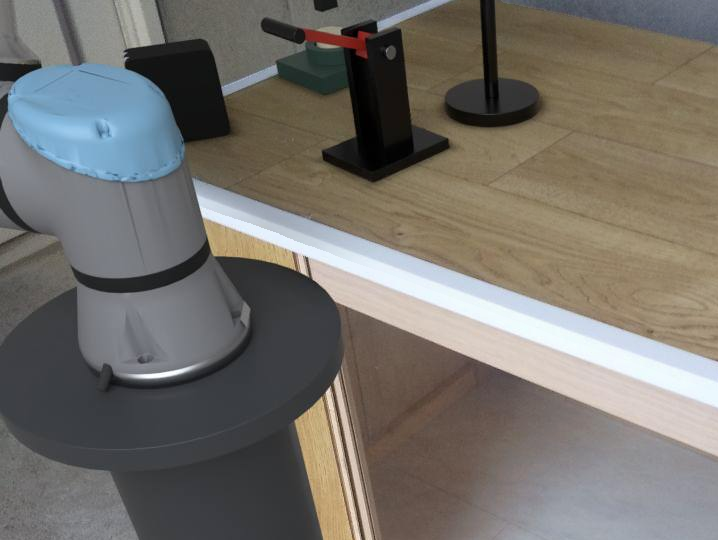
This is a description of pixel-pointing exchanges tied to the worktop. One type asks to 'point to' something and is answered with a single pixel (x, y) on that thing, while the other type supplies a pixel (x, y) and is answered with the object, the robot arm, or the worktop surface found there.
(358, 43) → the switch lever
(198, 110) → the electronic device
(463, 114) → the desk lamp
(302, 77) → the timer box
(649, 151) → the worktop surface
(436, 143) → the stand
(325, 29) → the timer button
